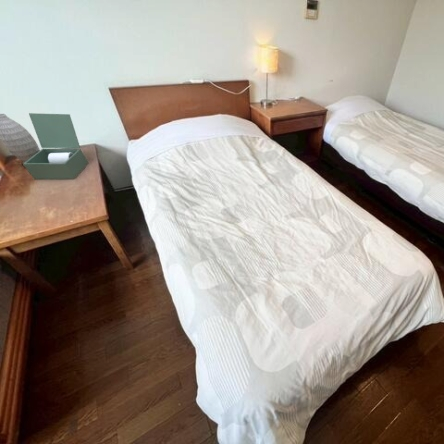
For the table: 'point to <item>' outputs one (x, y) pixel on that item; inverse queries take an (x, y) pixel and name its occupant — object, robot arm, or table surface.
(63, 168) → the chest
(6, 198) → the table surface
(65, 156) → the mug
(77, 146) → the lid
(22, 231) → the table surface
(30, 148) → the vase
